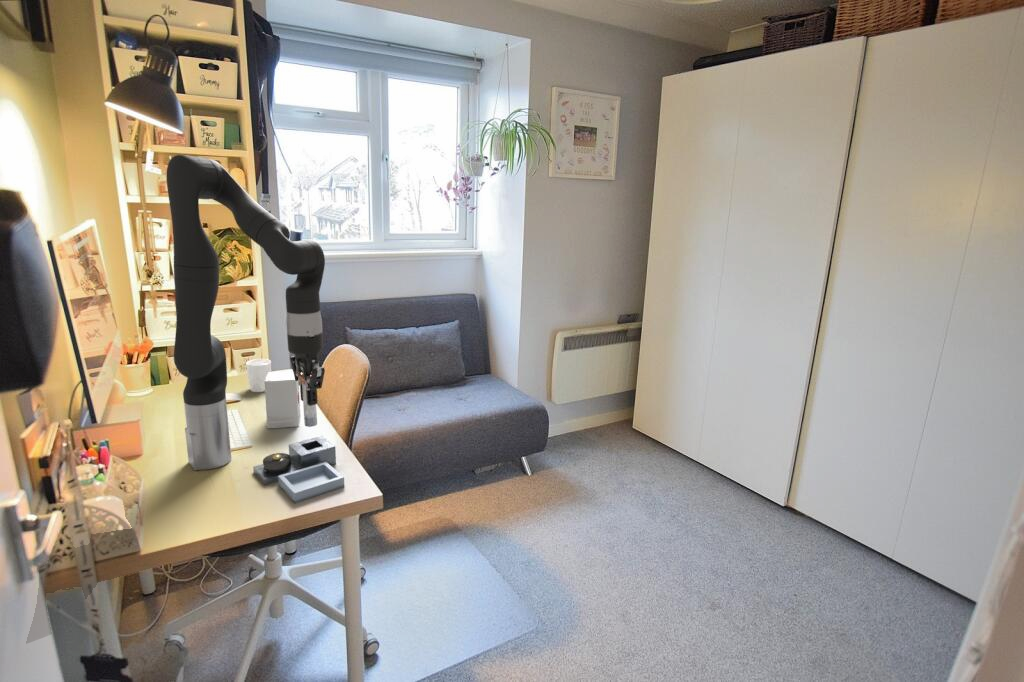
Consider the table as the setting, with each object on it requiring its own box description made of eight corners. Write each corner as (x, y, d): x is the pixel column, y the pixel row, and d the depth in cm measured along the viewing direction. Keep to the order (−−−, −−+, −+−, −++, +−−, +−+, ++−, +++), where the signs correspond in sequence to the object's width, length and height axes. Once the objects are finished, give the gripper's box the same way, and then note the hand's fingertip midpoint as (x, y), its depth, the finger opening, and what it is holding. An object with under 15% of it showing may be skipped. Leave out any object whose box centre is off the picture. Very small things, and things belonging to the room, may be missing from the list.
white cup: (268, 383, 199) (266, 357, 196) (276, 390, 193) (274, 362, 191) (244, 388, 194) (242, 361, 191) (252, 394, 188) (250, 366, 186)
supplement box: (299, 427, 165) (296, 379, 161) (266, 429, 162) (263, 381, 158) (301, 415, 173) (299, 370, 169) (270, 417, 170) (267, 371, 167)
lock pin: (306, 429, 127) (303, 379, 124) (299, 423, 129) (296, 374, 126) (322, 424, 129) (319, 375, 126) (315, 419, 132) (312, 371, 129)
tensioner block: (265, 485, 132) (263, 466, 131) (253, 472, 138) (252, 454, 136) (336, 463, 144) (335, 446, 143) (322, 452, 150) (322, 435, 148)
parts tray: (295, 503, 125) (294, 493, 125) (278, 485, 132) (278, 475, 132) (344, 486, 133) (344, 477, 132) (326, 470, 140) (326, 461, 140)
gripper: (275, 326, 126) (281, 397, 130) (301, 339, 116) (306, 415, 120) (307, 322, 131) (311, 390, 135) (334, 334, 121) (338, 407, 126)
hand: (309, 402), depth 128 cm, fingers closed on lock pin, 2 cm apart
